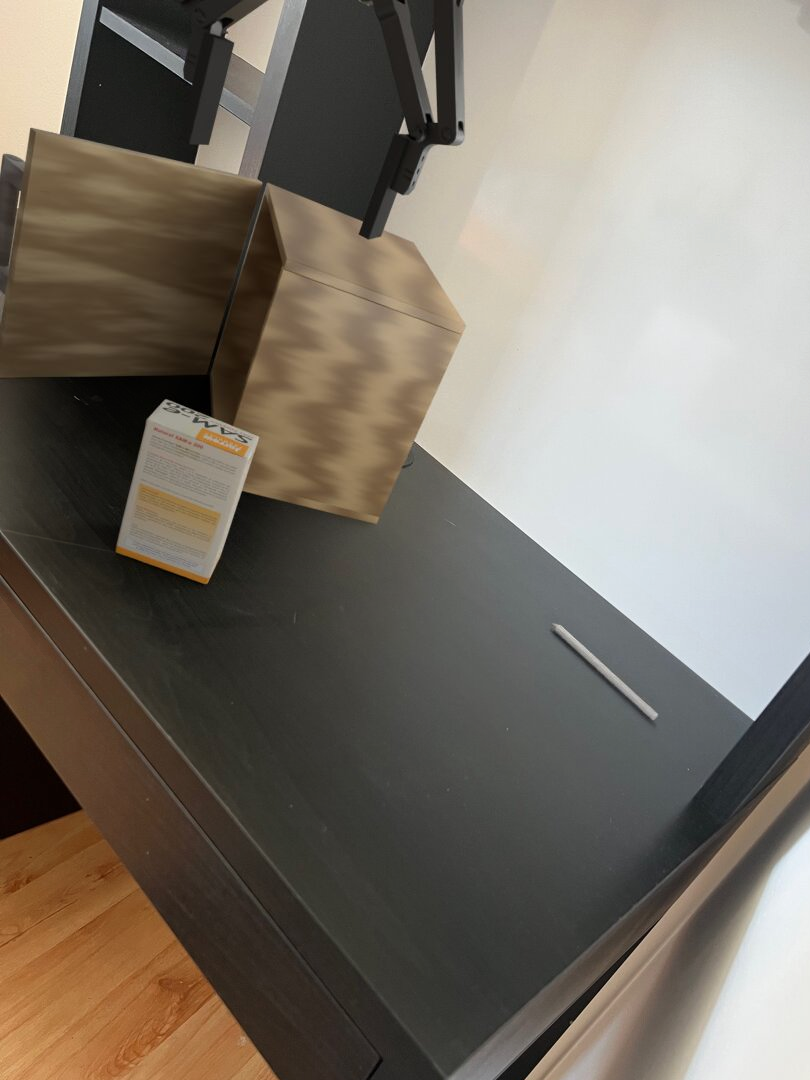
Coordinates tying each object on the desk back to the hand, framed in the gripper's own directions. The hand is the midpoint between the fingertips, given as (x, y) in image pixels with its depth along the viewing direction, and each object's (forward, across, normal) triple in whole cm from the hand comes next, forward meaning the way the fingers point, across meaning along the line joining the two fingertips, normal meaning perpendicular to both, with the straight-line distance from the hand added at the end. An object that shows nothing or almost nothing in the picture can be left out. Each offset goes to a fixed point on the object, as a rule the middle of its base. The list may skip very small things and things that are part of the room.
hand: (281, 189), depth 58 cm
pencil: (+32, +41, +18) cm, 55 cm away
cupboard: (+32, -2, +30) cm, 44 cm away
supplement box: (+32, 0, 0) cm, 32 cm away
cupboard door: (+32, -26, +26) cm, 48 cm away
